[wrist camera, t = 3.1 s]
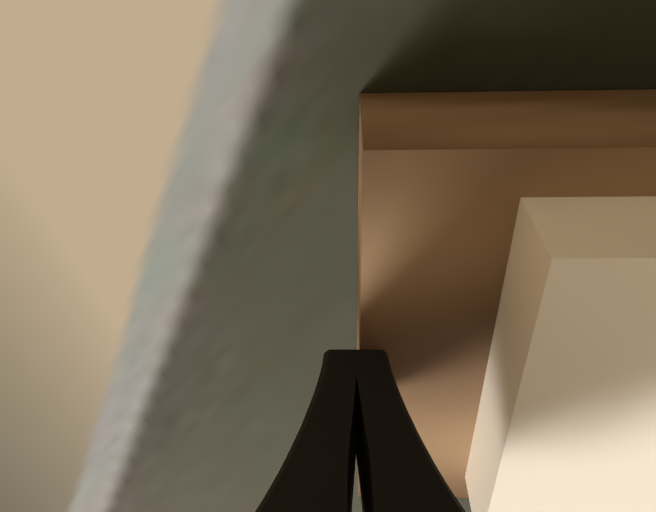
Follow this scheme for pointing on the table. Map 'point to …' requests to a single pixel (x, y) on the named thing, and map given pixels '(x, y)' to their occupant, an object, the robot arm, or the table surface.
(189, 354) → the table surface
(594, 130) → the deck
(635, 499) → the cream rectangular block
